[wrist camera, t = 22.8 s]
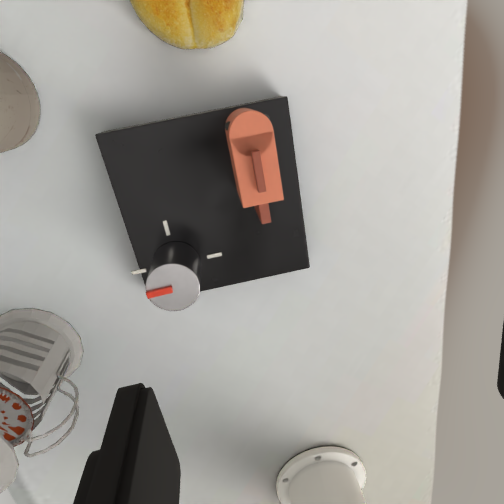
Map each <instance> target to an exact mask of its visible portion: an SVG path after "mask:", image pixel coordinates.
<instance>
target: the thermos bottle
mask: <svg viewBox="0 0 504 504" xmlns="http://www.w3.org/2000/svg"><path fill="white" fill-rule="evenodd" d="M39 119H40V102H39V98H38V94H37V92H36V89H35V87H34V84H33V83H32V81H31V80H30V78H29V76H28V75H27V74H26V72H25V71H24V70H23V69H22V68H21V67H20V66H19V65H18V64H17V63H16V62H15V61H13V60H12V59H11V58H9V57H8V56H6V55H4V54H3V53H1V52H0V153H1V152H5V151H8V150H12V149H15V148H17V147H19V146H21V145H23V144H24V143H25V142H27V141H28V140H29V139H30V138H31V137H32V135H33V134H34V133H35V131H36V129H37V126H38V124H39Z"/></svg>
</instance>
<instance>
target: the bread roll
mask: <svg viewBox="0 0 504 504" xmlns="http://www.w3.org/2000/svg"><path fill="white" fill-rule="evenodd" d="M130 2H131V4H132V6H133V8H134V10H135V11H136V13H137V15H138V17H139V18H140V20H141V21H142V22H143V23H144V25H145V26H146V27H147V28H148V29H149V30H150V31H151V32H152V33H154V34H155V35H156V36H157V37H158V38H160V39H161V40H163V41H165V42H166V43H168V44H170V45H173V46H175V47H178V48H181V49H195V48H197V49H206V48H212V47H215V46H218V45H220V44H222V43H224V42H226V41H227V40H229V39H230V38H231V37H232V36H234V34H235V32H236V30H237V28H238V26H239V25H240V23H241V21H242V19H243V7H244V0H130Z"/></svg>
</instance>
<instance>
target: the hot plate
mask: <svg viewBox="0 0 504 504" xmlns="http://www.w3.org/2000/svg"><path fill="white" fill-rule="evenodd" d="M239 108H249V109H252V110H255V111H258V112H261V113H263V114H267V115H269V117H270V121H271V123H272V126H273V130H274V137H275V143H276V150H277V157H278V163H279V170H280V177H281V183H282V190H283V196H284V200H280V201H276V202H271V203H268V205H269V211H270V217H271V222H270V223H266V224H262V223H261V221H260V219H259V217H258V215H257V212H256V210H255V207H254V206H252V207H247V208H243V206H242V203H241V201H240V198H239V195H238V192H237V188H236V183H235V178H234V173H233V168H232V163H231V158H230V153H229V148H228V143H227V138H226V132H225V123H226V120H227V118H228V116H229V115H230V114H231V113H232V112H233V111H235V110H237V109H239ZM95 136H96V139H97V142H98V145H99V148H100V151H101V154H102V157H103V160H104V163H105V166H106V169H107V172H108V175H109V178H110V181H111V184H112V187H113V190H114V193H115V196H116V199H117V202H118V205H119V208H120V211H121V214H122V217H123V220H124V223H125V226H126V229H127V232H128V235H129V238H130V241H131V244H132V247H133V250H134V253H135V256H136V259H137V262H138V265H139V268H140V269H139V270H134V271H131V274H132V275H135V274H139V273H141V274H142V277H143V280H144V283H145V286H146V281H147V277H148V274H149V271H150V267H151V264H152V261H153V257H154V255H155V253H156V251H157V250H158V249H159V248H160V247H161V246H163V245H164V244H166V243H169V242H183V243H186V244H188V245H190V246H191V247H193V248H194V249H195V250H196V252H197V253H198V255H199V258H200V291H204V290H209V289H213V288H218V287H223V286H227V285H232V284H236V283H241V282H246V281H250V280H255V279H259V278H264V277H269V276H273V275H278V274H282V273H287V272H292V271H296V270H301V269H305V268H309V267H310V265H309V257H308V250H307V242H306V235H305V227H304V220H303V212H302V204H301V197H300V189H299V182H298V174H297V167H296V159H295V151H294V144H293V136H292V129H291V121H290V114H289V106H288V98H287V97H286V96H280V97H275V98H270V99H265V100H260V101H255V102H250V103H245V104H240V105H235V106H230V107H225V108H220V109H214V110H209V111H204V112H199V113H194V114H189V115H184V116H179V117H174V118H169V119H164V120H159V121H154V122H149V123H144V124H139V125H134V126H129V127H124V128H119V129H114V130H109V131H104V132H101V133H98V134H96V135H95ZM150 301H151V300H150Z"/></svg>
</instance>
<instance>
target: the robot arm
mask: <svg viewBox="0 0 504 504" xmlns="http://www.w3.org/2000/svg"><path fill="white" fill-rule="evenodd" d="M497 387H498V390H499V392H500V394H501V396H502V397H503V399H504V323H503V332H502V343H501V352H500V363H499V372H498V382H497ZM180 476H181V472H180V463H179V459H178V456H177V453H176V451H175V448H174V445H173V443H172V440H171V437H170V434H169V432H168V429H167V426H166V424H165V421H164V418H163V416H162V413H161V410H160V407H159V405H158V402H157V399H156V397H155V394H154V391H153V389H152V388H151V387H148V388H145V386H144V385H143V384H142V383H139V384H135V385H130V386H126V387H121V388H119V389H118V391H117V393H116V397H115V400H114V404H113V407H112V411H111V414H110V418H109V421H108V424H107V428H106V431H105V435H104V438H103V442H102V445H101V449H100V450H97V451H93V452H92V453H91V454H90V455H89V457H88V459H87V462H86V465H85V468H84V471H83V474H82V477H81V480H80V484H79V487H78V490H77V493H76V496H75V499H74V503H73V504H179V493H180ZM365 482H366V471H365V468H364V465H363V463H362V461H361V460H360V458H359V457H358V456H357V455H356V454H355V453H353V452H352V451H349V450H347V449H344V448H340V447H333V446H327V447H318V448H313V449H310V450H308V451H305V452H303V453H301V454H299V455H297V456H295V457H294V458H293V459H291V460H290V461H289V462H288V463H287V464H286V465H285V466H284V467H283V468H282V470H281V471H280V473H279V475H278V477H277V481H276V490H277V495H278V499H279V500H280V502H281V504H367V503H366V501H365V498H364V496H363V493H362V489H363V487H364V485H365Z"/></svg>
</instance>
